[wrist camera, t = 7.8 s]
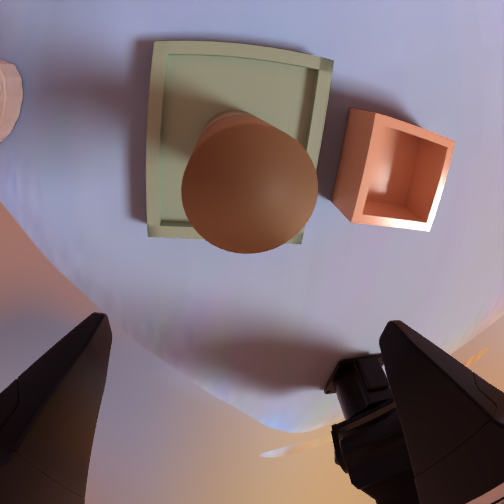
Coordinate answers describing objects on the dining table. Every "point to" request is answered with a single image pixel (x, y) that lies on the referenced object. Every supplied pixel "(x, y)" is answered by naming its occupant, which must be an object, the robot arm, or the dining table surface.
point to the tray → (221, 100)
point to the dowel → (248, 184)
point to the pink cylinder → (9, 97)
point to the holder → (390, 172)
